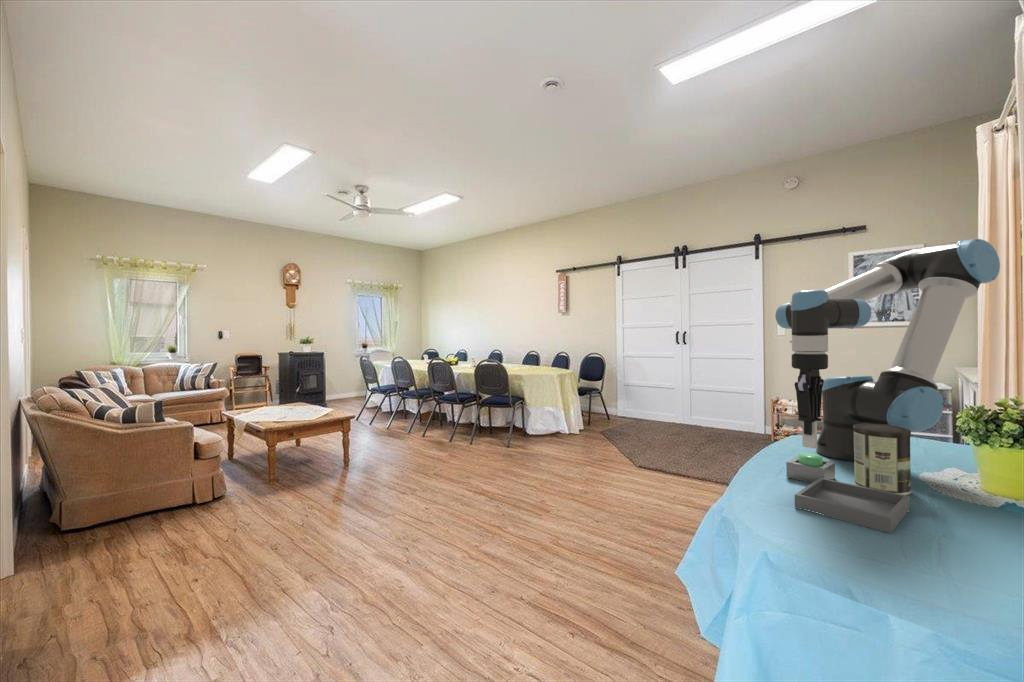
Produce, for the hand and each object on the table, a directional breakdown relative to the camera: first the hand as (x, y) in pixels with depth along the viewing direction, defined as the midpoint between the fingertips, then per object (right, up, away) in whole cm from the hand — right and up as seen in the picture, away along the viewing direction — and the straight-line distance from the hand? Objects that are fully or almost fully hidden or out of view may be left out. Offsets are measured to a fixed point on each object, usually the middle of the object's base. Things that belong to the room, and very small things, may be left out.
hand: (809, 447), depth 109 cm
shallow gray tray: (-4, -8, -19) cm, 21 cm away
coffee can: (+12, -8, -8) cm, 16 cm away
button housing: (0, -8, 0) cm, 8 cm away
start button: (0, -6, 0) cm, 6 cm away
